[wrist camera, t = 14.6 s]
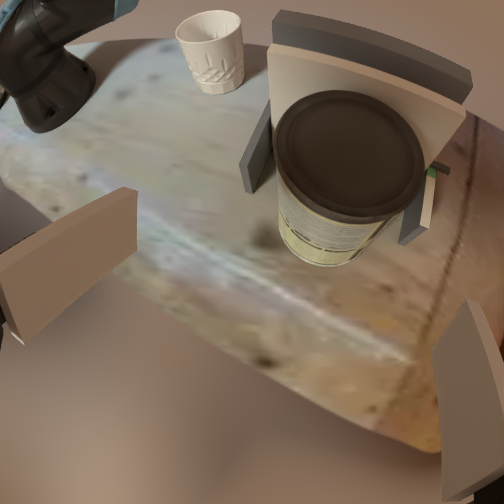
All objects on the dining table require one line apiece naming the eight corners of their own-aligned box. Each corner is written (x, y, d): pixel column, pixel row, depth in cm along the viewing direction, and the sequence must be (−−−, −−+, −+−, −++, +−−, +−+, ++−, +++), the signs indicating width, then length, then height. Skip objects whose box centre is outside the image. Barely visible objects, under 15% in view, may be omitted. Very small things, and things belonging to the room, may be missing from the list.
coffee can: (280, 172, 34) (278, 82, 20) (370, 181, 32) (413, 101, 19) (272, 263, 31) (265, 211, 18) (371, 272, 30) (433, 229, 16)
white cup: (203, 61, 40) (189, 10, 30) (254, 63, 38) (248, 9, 29) (185, 96, 38) (164, 44, 28) (240, 100, 37) (229, 43, 27)
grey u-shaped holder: (282, 106, 36) (280, 9, 21) (420, 151, 33) (471, 71, 18) (245, 191, 33) (222, 99, 19) (405, 246, 30) (481, 186, 16)
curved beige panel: (276, 138, 34) (271, 43, 20) (427, 190, 30) (488, 119, 17) (272, 146, 33) (266, 51, 20) (426, 199, 30) (490, 130, 17)
